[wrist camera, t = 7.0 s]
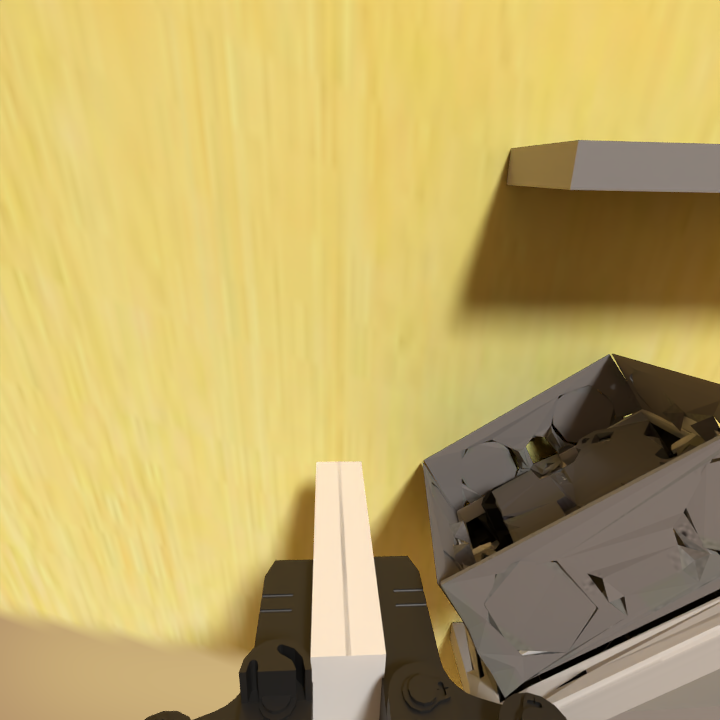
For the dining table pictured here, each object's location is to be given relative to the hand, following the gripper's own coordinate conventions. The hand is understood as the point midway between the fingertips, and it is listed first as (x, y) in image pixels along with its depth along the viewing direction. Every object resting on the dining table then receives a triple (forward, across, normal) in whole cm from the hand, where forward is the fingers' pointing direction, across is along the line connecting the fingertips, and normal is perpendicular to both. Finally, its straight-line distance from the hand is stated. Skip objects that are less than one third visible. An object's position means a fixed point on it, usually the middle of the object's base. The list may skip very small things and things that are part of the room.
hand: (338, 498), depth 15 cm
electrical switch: (+2, +7, +1) cm, 7 cm away
